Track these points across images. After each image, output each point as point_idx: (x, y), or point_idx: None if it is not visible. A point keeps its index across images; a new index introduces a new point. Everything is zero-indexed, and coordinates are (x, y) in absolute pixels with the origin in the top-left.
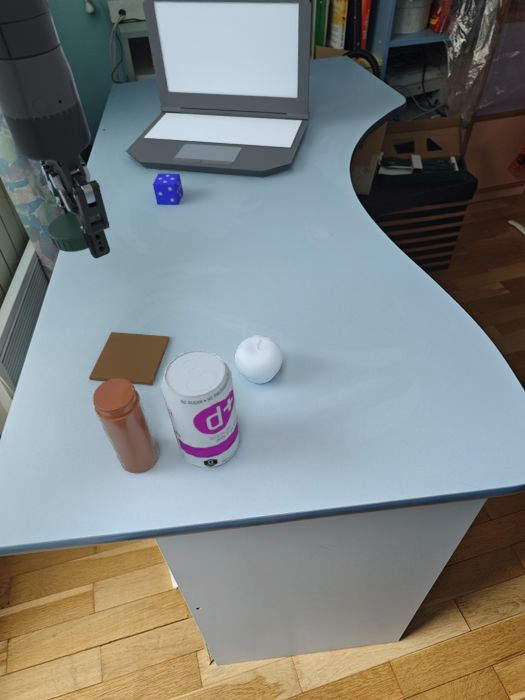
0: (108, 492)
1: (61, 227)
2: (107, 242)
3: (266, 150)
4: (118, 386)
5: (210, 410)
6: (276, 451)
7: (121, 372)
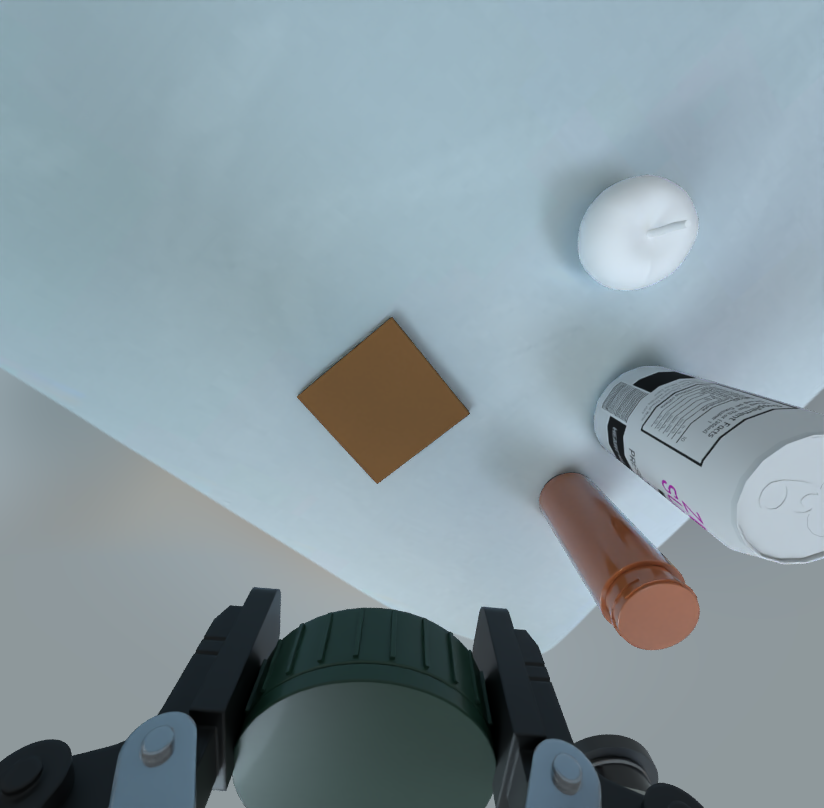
0: None
1: None
2: (518, 645)
3: None
4: (652, 603)
5: None
6: (738, 344)
7: (408, 438)
